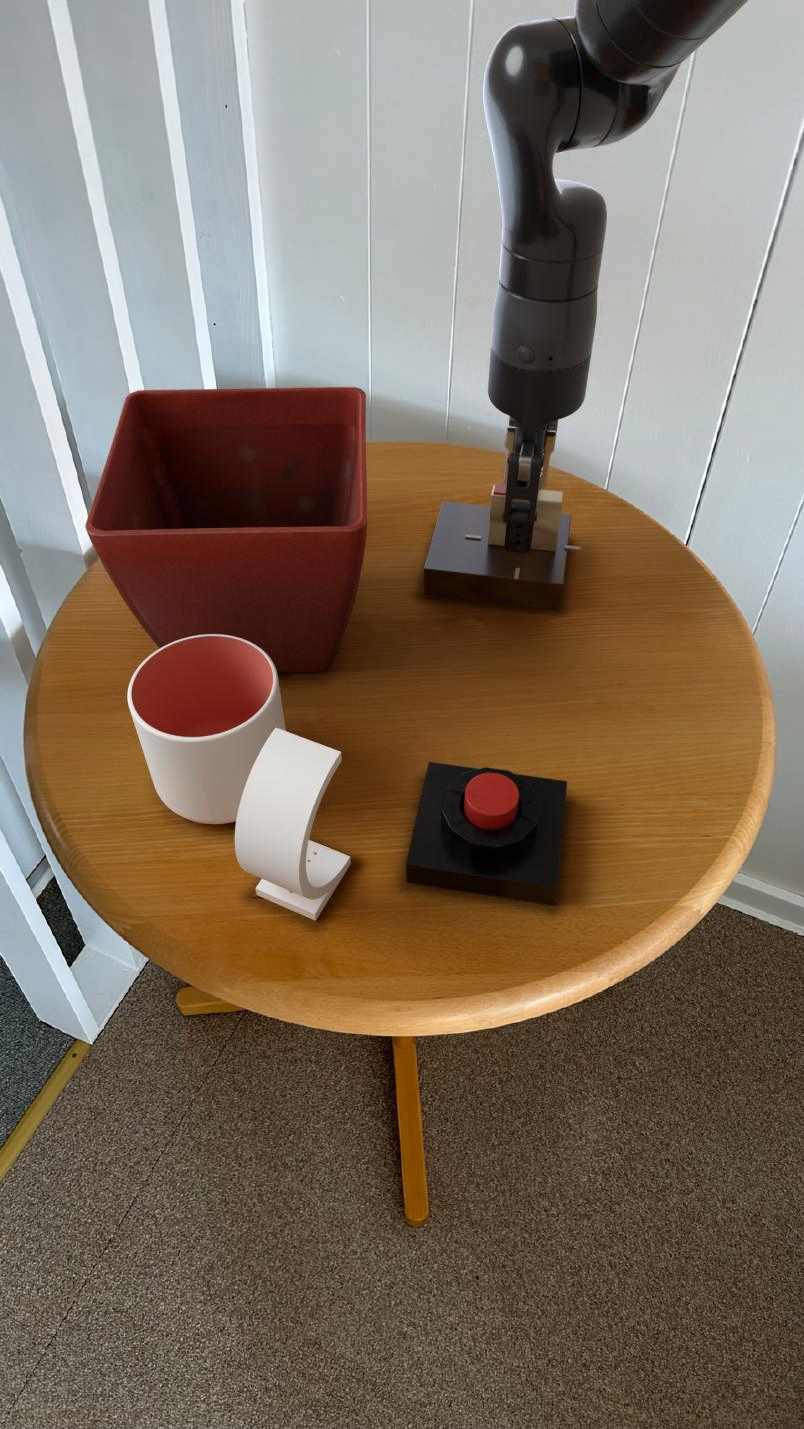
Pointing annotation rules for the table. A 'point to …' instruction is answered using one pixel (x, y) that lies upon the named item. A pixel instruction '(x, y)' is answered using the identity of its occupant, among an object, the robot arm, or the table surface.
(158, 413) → the plant pot
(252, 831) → the headphone stand
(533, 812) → the button block
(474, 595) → the panel
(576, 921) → the table surface
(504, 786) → the button
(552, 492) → the handle
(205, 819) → the cup
